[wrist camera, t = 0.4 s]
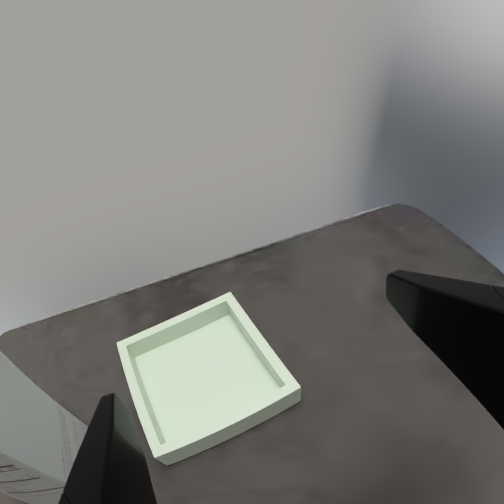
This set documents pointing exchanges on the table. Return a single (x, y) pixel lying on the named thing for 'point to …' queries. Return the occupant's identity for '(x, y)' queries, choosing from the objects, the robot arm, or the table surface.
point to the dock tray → (204, 379)
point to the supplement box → (34, 439)
